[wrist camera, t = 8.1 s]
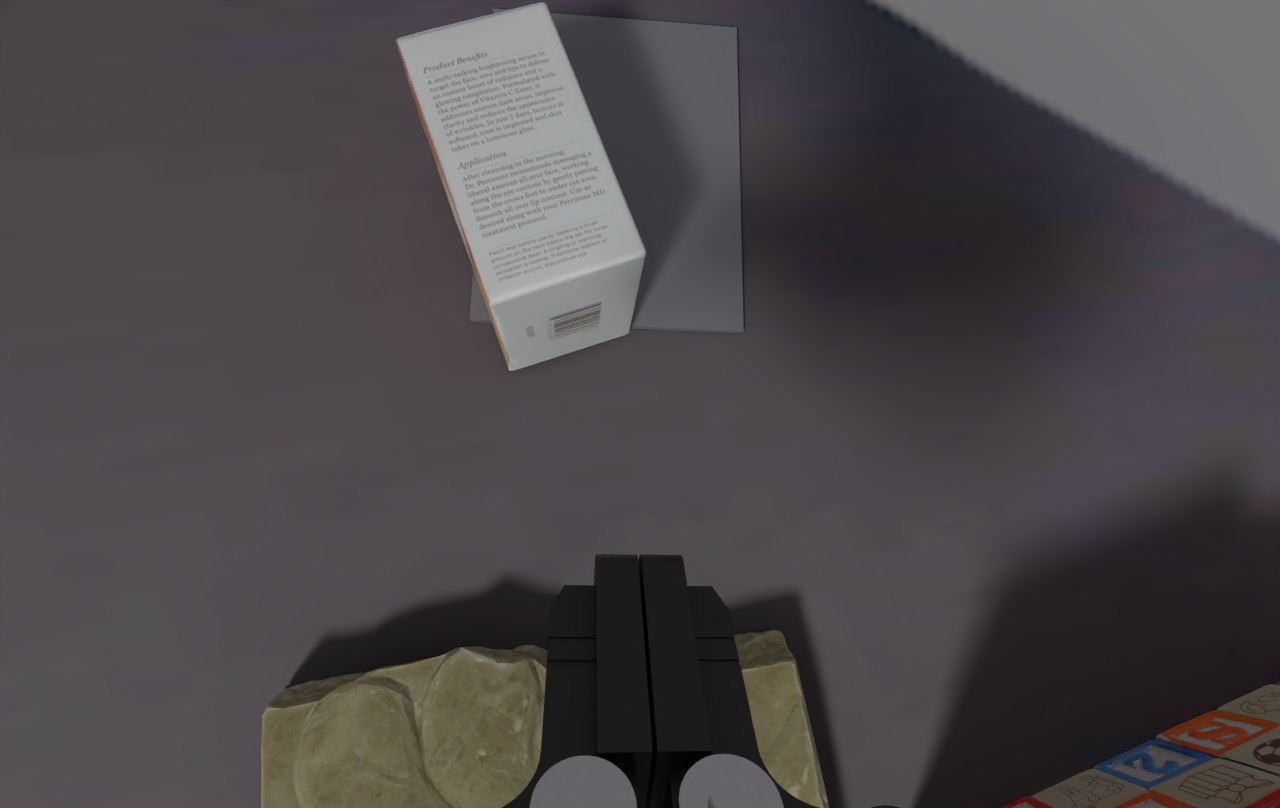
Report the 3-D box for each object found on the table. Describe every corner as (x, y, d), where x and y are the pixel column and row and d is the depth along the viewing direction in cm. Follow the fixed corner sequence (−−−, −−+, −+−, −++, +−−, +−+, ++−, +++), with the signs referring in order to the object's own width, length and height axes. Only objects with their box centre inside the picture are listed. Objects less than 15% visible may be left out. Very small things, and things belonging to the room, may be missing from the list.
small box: (510, 377, 29) (436, 167, 32) (633, 335, 30) (553, 134, 32) (484, 304, 22) (389, 33, 24) (651, 251, 23) (544, -6, 25)
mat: (470, 321, 30) (469, 319, 30) (493, 13, 34) (493, 8, 34) (742, 333, 31) (743, 330, 31) (735, 31, 35) (736, 27, 35)
